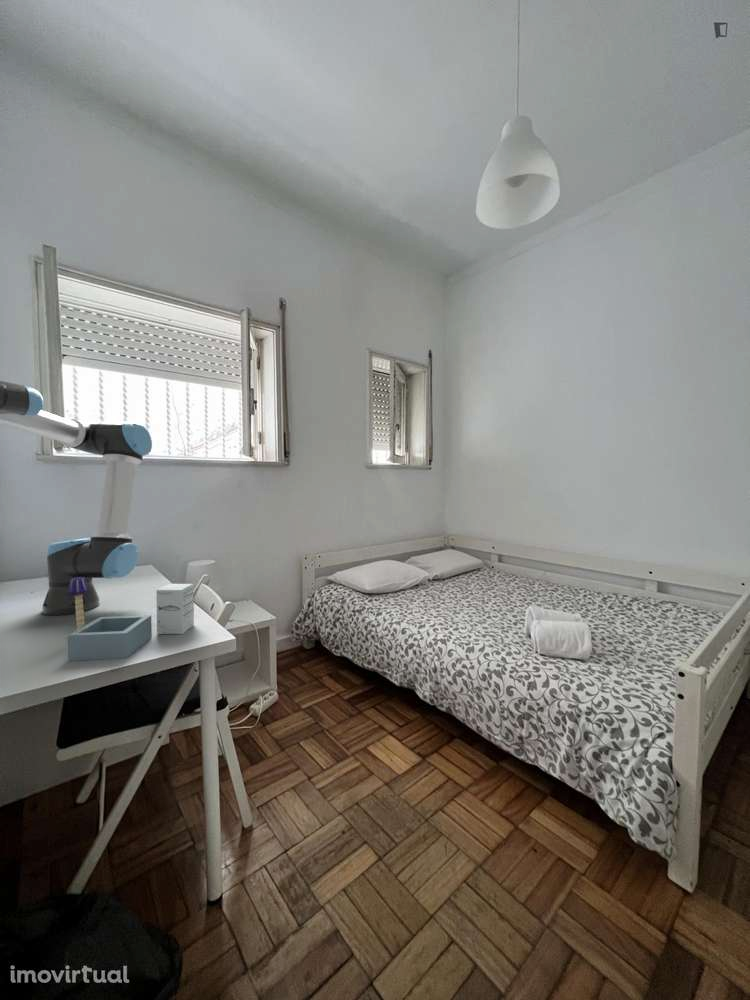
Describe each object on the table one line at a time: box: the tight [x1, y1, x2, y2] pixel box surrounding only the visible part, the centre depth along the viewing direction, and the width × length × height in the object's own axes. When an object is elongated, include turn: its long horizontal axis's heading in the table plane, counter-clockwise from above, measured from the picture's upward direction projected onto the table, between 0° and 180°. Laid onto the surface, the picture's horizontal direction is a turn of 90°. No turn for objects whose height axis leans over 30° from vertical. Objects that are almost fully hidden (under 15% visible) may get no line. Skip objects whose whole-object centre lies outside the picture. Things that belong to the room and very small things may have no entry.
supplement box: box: [156, 583, 195, 635], centre depth 111 cm, size 7×7×13 cm
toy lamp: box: [67, 577, 89, 630], centre depth 104 cm, size 5×5×17 cm
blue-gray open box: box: [66, 614, 153, 662], centre depth 99 cm, size 13×13×6 cm
